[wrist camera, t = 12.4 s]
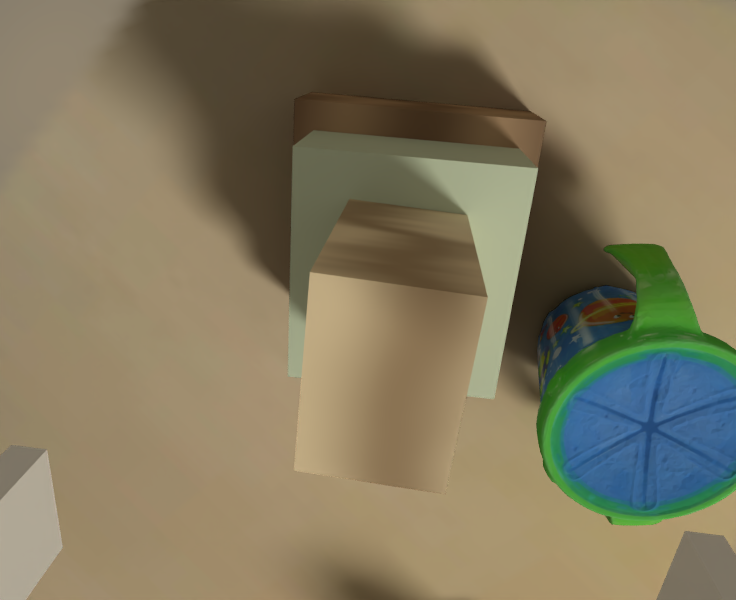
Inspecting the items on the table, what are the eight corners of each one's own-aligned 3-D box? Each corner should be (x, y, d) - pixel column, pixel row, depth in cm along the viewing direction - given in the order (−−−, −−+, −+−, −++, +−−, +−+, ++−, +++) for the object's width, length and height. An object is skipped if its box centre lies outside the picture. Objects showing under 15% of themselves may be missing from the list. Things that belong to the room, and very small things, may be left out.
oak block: (334, 344, 27) (293, 470, 19) (349, 198, 25) (309, 272, 16) (440, 360, 27) (445, 494, 19) (467, 214, 24) (488, 297, 16)
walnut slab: (305, 303, 38) (289, 338, 33) (312, 91, 33) (294, 99, 28) (491, 323, 37) (500, 361, 33) (529, 110, 32) (546, 121, 27)
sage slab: (306, 330, 33) (287, 376, 28) (313, 130, 28) (292, 146, 24) (484, 349, 32) (494, 399, 28) (519, 148, 28) (538, 168, 23)
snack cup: (654, 447, 39) (726, 571, 30) (497, 434, 40) (519, 551, 31) (719, 223, 33) (834, 292, 24) (530, 212, 34) (571, 275, 24)
